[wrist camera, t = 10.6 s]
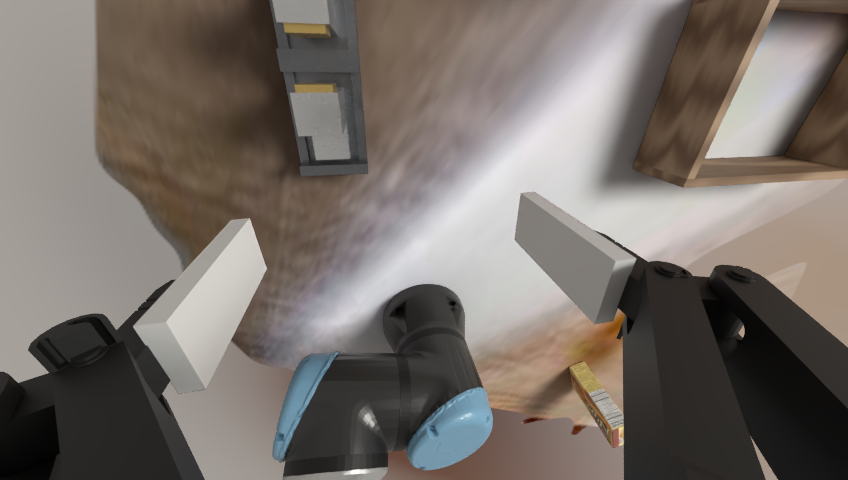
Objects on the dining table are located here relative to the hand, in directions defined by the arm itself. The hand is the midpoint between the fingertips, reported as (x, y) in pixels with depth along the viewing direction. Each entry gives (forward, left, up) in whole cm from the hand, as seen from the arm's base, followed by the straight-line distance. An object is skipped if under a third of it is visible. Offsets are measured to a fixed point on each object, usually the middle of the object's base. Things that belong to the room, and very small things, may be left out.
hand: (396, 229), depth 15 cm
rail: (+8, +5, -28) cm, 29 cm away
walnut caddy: (+5, -57, -28) cm, 63 cm away
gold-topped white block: (+1, +5, -26) cm, 27 cm away
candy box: (-59, -47, -28) cm, 81 cm away
